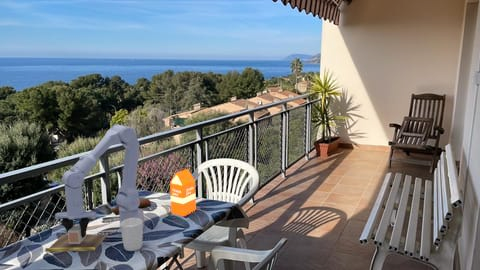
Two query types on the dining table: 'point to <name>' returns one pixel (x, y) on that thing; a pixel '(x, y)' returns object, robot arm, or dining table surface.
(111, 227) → the dining table surface
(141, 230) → the white cup
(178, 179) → the orange juice
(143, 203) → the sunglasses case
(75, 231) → the carton
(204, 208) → the dining table surface
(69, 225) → the robot arm
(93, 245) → the shelf board
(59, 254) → the dining table surface
